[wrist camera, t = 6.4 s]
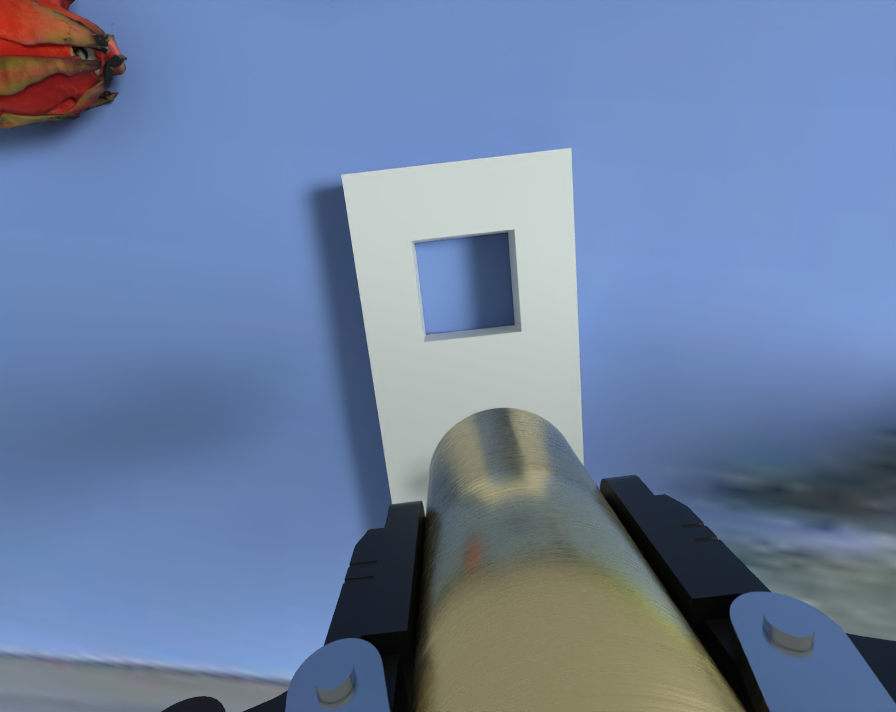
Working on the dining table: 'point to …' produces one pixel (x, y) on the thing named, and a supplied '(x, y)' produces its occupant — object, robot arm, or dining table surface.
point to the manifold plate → (479, 350)
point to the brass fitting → (543, 588)
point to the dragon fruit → (52, 63)
